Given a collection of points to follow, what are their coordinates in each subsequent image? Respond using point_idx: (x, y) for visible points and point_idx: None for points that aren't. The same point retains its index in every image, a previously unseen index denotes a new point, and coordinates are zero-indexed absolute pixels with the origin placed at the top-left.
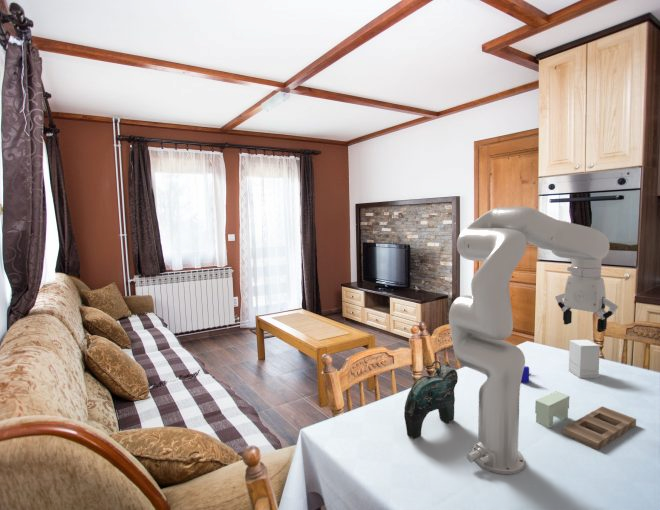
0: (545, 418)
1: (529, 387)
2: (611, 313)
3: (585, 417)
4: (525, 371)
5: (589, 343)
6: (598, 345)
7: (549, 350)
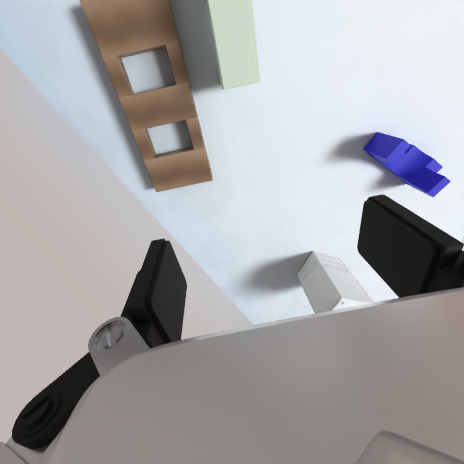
0: None
1: (351, 132)
2: (18, 421)
3: (187, 100)
4: (387, 148)
5: None
6: None
7: None
